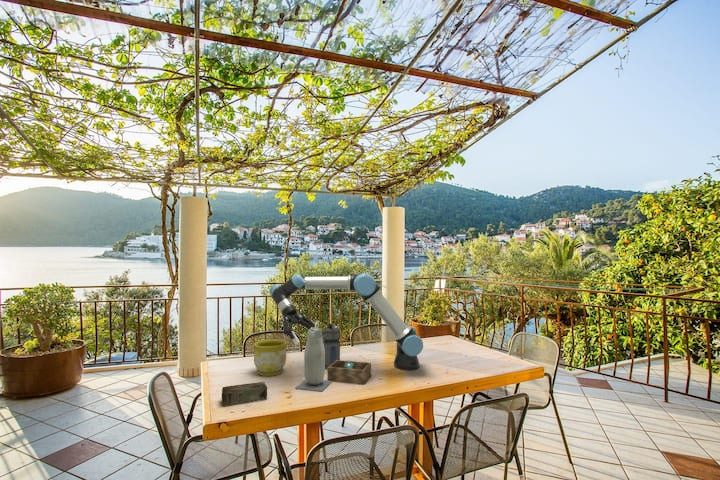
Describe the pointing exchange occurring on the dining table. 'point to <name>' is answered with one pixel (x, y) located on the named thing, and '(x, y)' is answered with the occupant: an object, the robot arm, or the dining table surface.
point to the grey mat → (314, 386)
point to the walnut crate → (349, 372)
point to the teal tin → (349, 365)
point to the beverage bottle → (331, 344)
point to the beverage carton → (244, 393)
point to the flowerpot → (270, 356)
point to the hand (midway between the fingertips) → (307, 341)
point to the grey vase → (314, 357)
